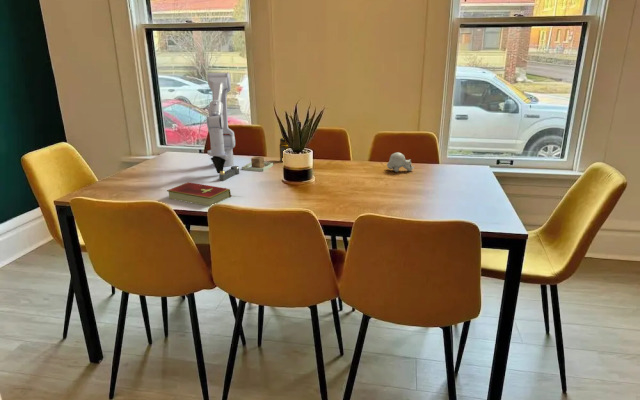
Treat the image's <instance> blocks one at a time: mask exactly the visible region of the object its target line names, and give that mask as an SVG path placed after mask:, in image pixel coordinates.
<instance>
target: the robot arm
mask: <svg viewBox="0 0 640 400" xmlns="http://www.w3.org/2000/svg"><path fill="white" fill-rule="evenodd" d="M231 80H232V79H231V73H229V72H208V74H207V84H208V87H209V89H210V91H211V93H212V94H211V95H212V100H211V101H210V102H209V109H208V110H209V111H208V116H207V117H206V126H207V131H208V134H209V141H210V143H209V144H210V149H209V150H207V155H208V156H210V160H211V162H212V164H213V167H214V168H215V171H216V173H217V174H220V171H224V168H229V167H230V168H231V167H232V166H235V161H234V152H233V149H234V148H235V147H236V137H235V131H234V130H232V129H231V128H229V117H228V116H229V115H228V100H227V99H228V98H227V97H228V94H229V92H231V90H232V81H231Z"/></svg>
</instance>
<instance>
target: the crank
mask: <svg viewBox="0 0 640 400" xmlns="http://www.w3.org/2000/svg"><path fill="white" fill-rule="evenodd" d="M239 174H240V166H239V165H233V166H230V168H229V169H227V170H223V171H220V173H218V177H219V181H223V182H224V181H226V180H228V179H230V178H231V177H234V176H235V175H239Z"/></svg>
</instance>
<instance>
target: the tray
mask: <svg viewBox="0 0 640 400" xmlns="http://www.w3.org/2000/svg"><path fill="white" fill-rule="evenodd" d="M272 167H274V162H266V161H264V167H263V168H252V163H251V162H249V163H246V164H245V165H243V166H241V170H244V171H253V172H254V171H255V172H265V171H267V170H268V169H270V168H272Z"/></svg>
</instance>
